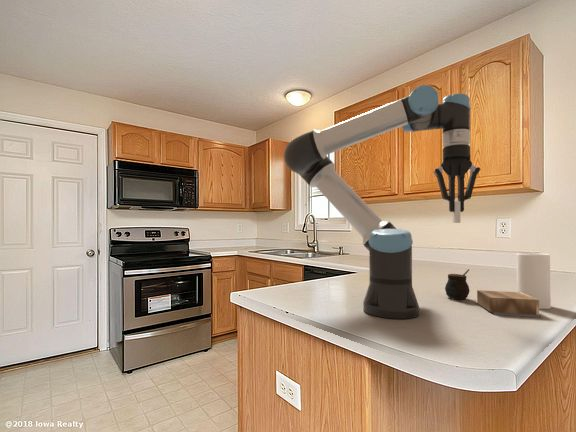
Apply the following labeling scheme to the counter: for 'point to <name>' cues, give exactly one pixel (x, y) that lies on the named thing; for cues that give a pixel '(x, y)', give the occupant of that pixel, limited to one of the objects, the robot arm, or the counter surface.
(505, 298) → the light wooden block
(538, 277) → the cup
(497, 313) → the mat
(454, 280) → the mate gourd
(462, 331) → the counter surface
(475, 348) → the counter surface
